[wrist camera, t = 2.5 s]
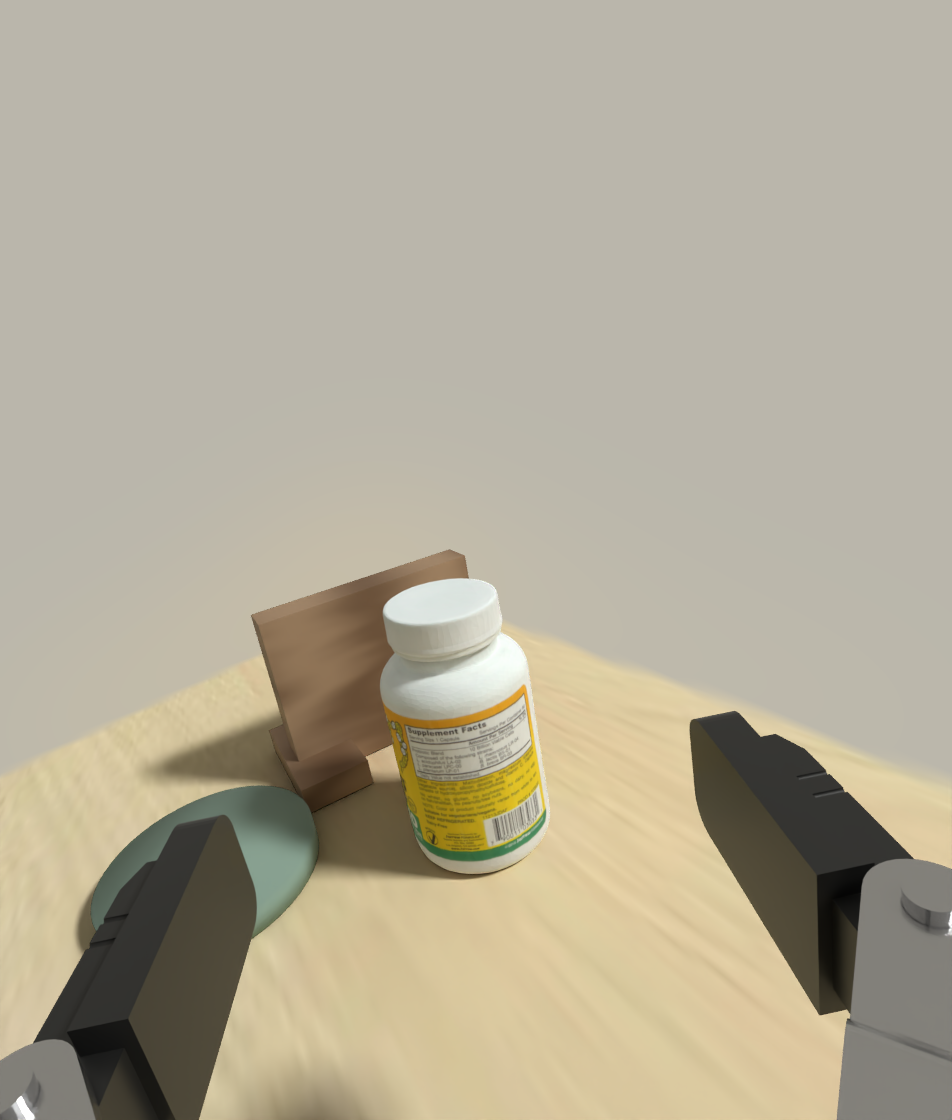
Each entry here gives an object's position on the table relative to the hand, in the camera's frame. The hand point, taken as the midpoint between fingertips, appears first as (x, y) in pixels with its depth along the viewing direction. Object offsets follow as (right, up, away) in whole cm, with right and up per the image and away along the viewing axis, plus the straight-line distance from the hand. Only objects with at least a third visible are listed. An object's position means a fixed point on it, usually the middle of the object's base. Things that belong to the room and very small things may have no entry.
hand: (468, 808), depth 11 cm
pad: (-10, -8, +14) cm, 19 cm away
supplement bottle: (0, -6, +14) cm, 15 cm away
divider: (-4, -4, +21) cm, 22 cm away
